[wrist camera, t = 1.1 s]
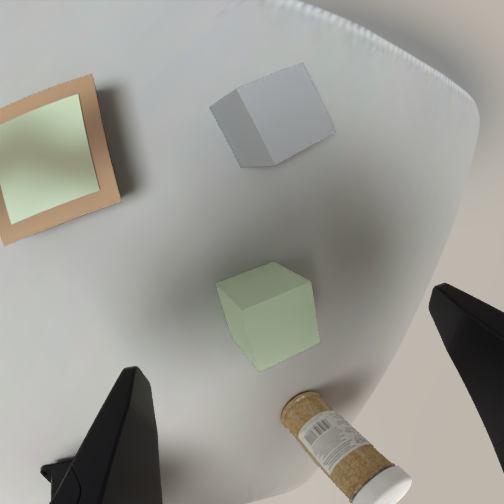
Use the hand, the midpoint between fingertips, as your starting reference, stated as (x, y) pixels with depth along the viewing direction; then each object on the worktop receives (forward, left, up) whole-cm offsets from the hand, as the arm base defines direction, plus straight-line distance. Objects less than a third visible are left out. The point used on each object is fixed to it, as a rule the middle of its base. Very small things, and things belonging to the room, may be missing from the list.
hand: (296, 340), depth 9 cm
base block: (+8, +7, -13) cm, 17 cm away
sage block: (-5, -3, -13) cm, 15 cm away
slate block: (+7, -6, -13) cm, 16 cm away
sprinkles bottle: (-18, -5, -14) cm, 23 cm away
